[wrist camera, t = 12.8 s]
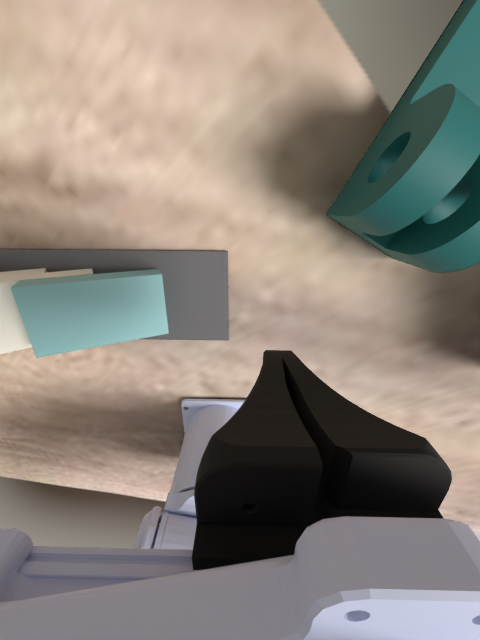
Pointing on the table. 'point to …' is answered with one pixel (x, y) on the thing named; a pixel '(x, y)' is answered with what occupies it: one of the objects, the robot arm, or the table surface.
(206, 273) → the mat
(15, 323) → the tile
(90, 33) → the table surface
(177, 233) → the table surface
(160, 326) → the tile
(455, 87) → the bracket
